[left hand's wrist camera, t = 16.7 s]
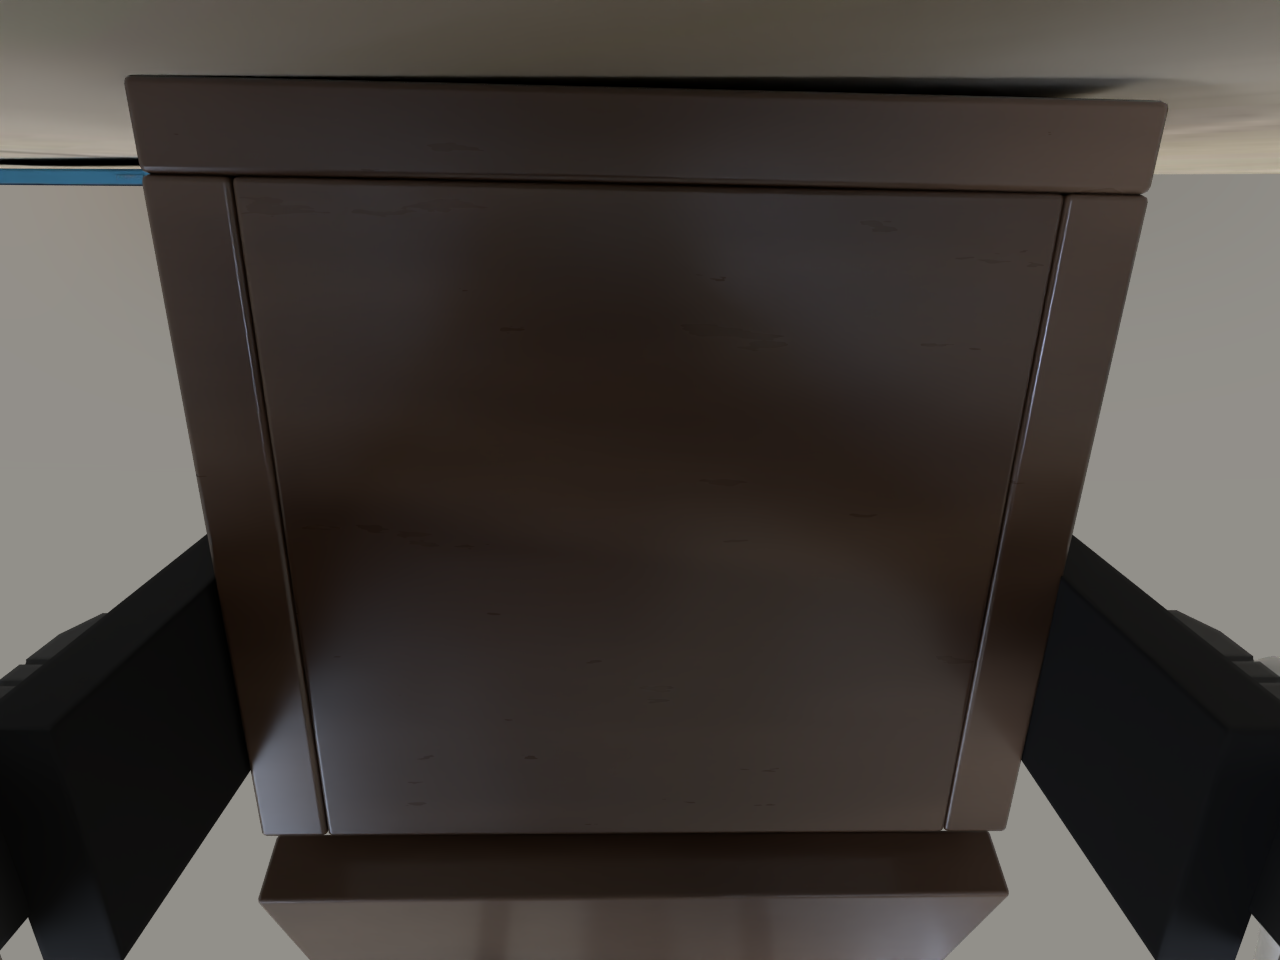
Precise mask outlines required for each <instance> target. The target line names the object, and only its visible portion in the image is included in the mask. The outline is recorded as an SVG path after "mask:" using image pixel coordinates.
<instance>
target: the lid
mask: <svg viewBox="0 0 1280 960" xmlns="http://www.w3.org/2000/svg"><path fill="white" fill-rule="evenodd" d="M1008 894H1009V891H1008V888H1007V885H1006V882H1005V879H1004V876H1003V873H1002V870H1001V867H1000V864H999V861H998V857H997V854H996V851H995V848H994V845H993V842H992V840H991V836H990V834H989V832H988V831H898V832H751V833H604V834H457V835H291V836H278V838H277V839H276V843H275V846H274V849H273V853H272V856H271V859H270V862H269V866H268V869H267V872H266V875H265V879H264V882H263V885H262V888H261V892H260V895H259V898H258V900H259V903H260V904H261V906H262V907H263V908H264V909H265V910H266V911H267V912H268V913H269V914H270V916H271V917H272V918H273V919H274V920H275V921H276V922H277V923H278V925H279V926H280V927H281V928H282V929H283V930H284V931H285V932H286V933H287V935H288V936H289V937H290V938H291V939H292V940H293V941H294V942H295V944H296V945H297V946H298V947H299V948H300V949H301V950H302V951H303V953H304V954H305V955H306V956H307V957H308V958H309V959H310V960H943V959H944V958H945V957H946V956H947V955H948V954H949V953H950V952H951V951H952V950H953V949H954V948H955V947H956V946H957V945H958V944H959V943H960V942H961V941H962V940H964V939H965V938H966V937H967V936H968V935H969V934H970V933H971V932H972V931H973V930H974V929H975V928H976V927H977V926H978V925H979V924H980V923H981V922H982V921H983V920H984V919H985V918H986V917H987V916H988V915H989V914H990V913H991V912H992V911H993V910H994V909H995V908H996V907H997V906H998V905H999V904H1000V903H1001V902H1002V901H1003V900H1004V899H1005V898H1006V897H1007V896H1008Z"/></svg>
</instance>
